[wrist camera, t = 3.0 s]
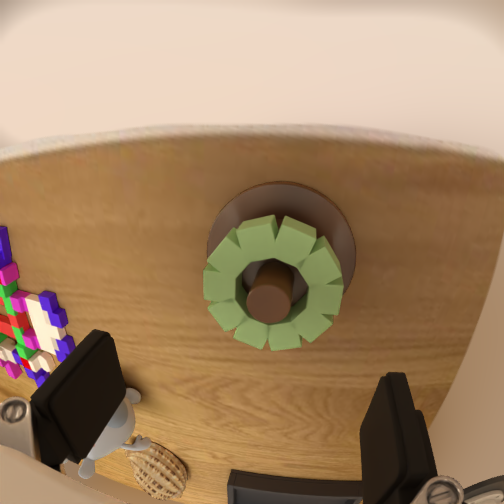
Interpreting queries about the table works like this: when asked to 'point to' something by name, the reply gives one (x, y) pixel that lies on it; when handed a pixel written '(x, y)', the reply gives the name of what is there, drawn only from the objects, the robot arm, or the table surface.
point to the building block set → (16, 326)
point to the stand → (279, 204)
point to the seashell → (158, 472)
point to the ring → (284, 249)
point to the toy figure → (116, 434)
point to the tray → (290, 490)
